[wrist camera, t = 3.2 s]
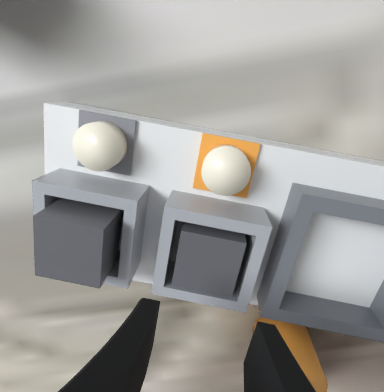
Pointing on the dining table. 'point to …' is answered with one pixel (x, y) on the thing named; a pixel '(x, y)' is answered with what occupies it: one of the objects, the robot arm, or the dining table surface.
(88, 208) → the block
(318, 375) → the cap
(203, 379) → the dining table surface
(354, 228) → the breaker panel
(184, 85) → the dining table surface
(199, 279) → the dark grey square block
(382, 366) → the dining table surface
